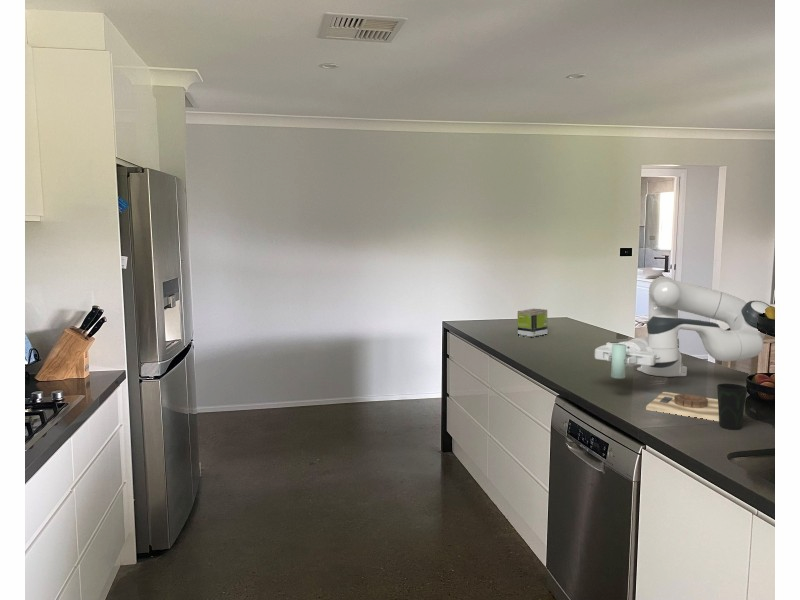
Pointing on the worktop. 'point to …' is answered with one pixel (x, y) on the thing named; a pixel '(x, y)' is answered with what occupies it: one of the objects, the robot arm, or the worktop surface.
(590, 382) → the worktop surface
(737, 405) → the cup
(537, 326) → the tea box
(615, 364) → the peg
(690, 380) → the worktop surface
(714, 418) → the socket board
